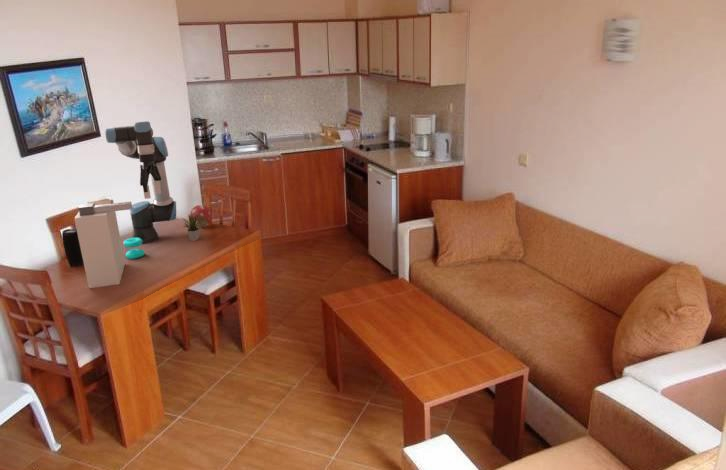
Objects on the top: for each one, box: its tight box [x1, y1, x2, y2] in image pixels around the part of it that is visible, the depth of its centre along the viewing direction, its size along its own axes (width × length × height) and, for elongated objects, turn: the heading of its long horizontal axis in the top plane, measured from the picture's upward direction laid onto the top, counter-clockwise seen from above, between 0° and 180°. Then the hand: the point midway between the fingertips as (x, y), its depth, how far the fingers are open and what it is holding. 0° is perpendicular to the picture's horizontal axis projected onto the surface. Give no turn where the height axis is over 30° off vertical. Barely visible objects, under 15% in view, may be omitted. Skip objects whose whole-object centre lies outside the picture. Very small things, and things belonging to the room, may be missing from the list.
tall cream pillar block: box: [74, 199, 126, 289], centre depth 286 cm, size 14×30×37 cm, turn 17°
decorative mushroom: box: [189, 204, 212, 228], centre depth 363 cm, size 13×13×15 cm
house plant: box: [181, 213, 202, 241], centre depth 341 cm, size 14×14×16 cm
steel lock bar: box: [78, 201, 133, 216], centre depth 275 cm, size 23×8×4 cm, turn 107°
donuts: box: [122, 237, 145, 260], centre depth 316 cm, size 10×10×10 cm
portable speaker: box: [62, 228, 84, 267], centre depth 306 cm, size 9×9×20 cm
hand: (153, 196), depth 282 cm, fingers open, 13 cm apart
